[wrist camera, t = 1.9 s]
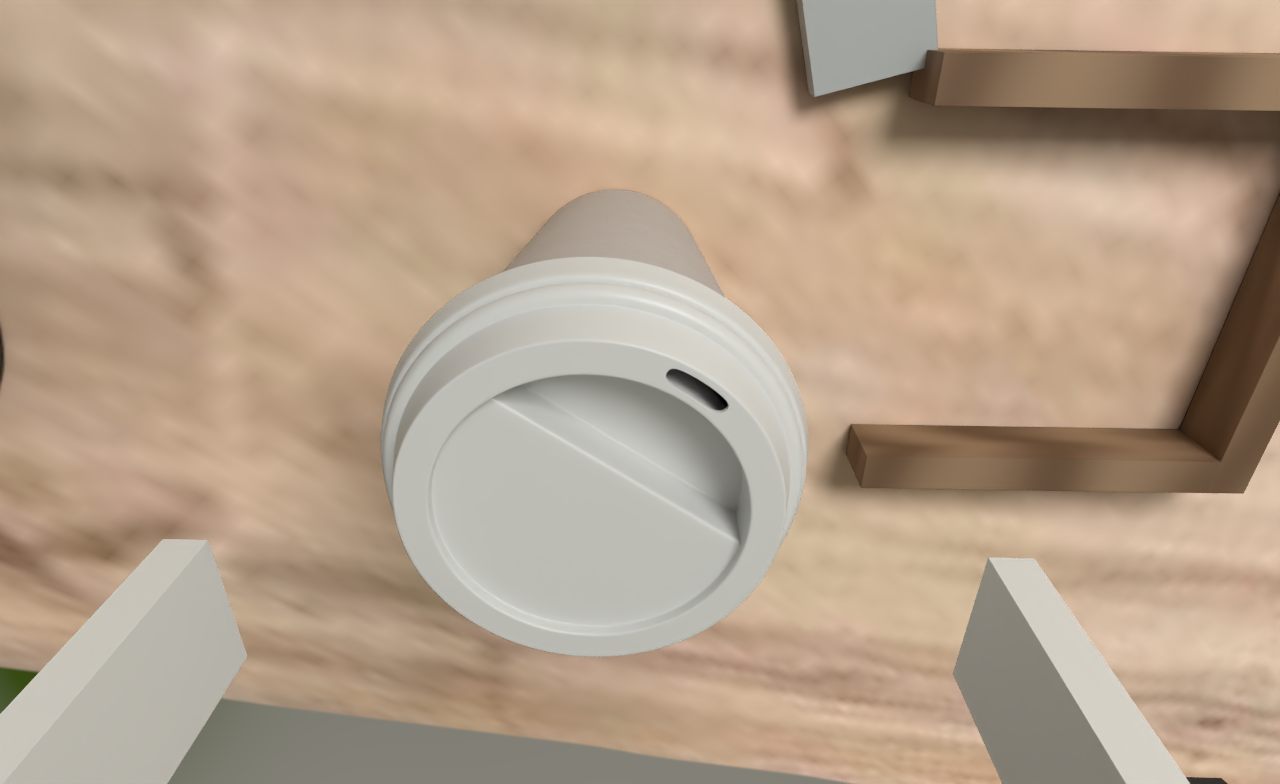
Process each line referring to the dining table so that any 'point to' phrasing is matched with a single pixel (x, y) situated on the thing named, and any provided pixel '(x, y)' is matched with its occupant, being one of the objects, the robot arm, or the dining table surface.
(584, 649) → the coffee cup
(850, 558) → the dining table surface
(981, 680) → the robot arm
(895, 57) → the slate tile
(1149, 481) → the bracket
